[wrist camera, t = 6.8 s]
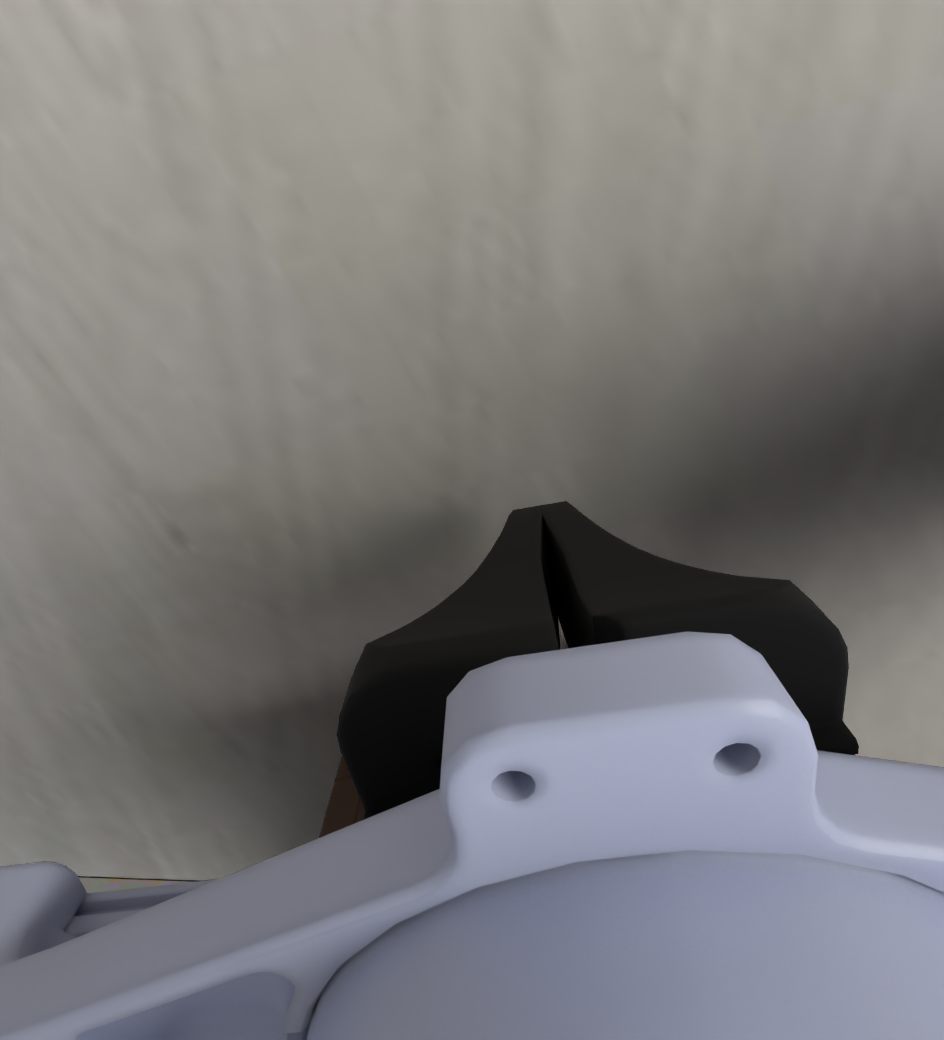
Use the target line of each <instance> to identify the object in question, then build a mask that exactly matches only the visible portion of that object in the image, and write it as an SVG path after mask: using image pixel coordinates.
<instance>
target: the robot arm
mask: <svg viewBox="0 0 944 1040" xmlns="http://www.w3.org/2000/svg"><path fill="white" fill-rule="evenodd" d="M558 618H559V621H560V624H561V627H562V630H563V633H564V636H565V640H566V643H567V646H568V649H561V650H560V638H559V624H558ZM848 668H849V667H848V651H847V646H846V644H845V642H844V640H843V638H842V635H841V633H840V631H839V629H838V628H837V627H836V626H835V625H834V624H833V623H832V622H831V621H830V620H829V619H828V618H827V617H826V615H825V614H824V613H823V612H822V611H821V610H820V609H819V608H818V607H817V606H816V604H815V603H814V602H813V601H812V600H811V599H810V598H809V597H808V596H806V595H805V594H804V593H803V592H802V591H801V590H800V589H799V588H798V587H796V586H795V585H794V584H793V583H792V582H791V581H790V580H780V579H768V578H756V577H744V576H736V575H730V574H724V573H718V572H712V571H707V570H703V569H698V568H694V567H690V566H686V565H683V564H679V563H676V562H672V561H669V560H666V559H663V558H660V557H658V556H655V555H653V554H650V553H648V552H645V551H643V550H641V549H638V548H636V547H634V546H632V545H630V544H628V543H626V542H624V541H622V540H620V539H619V538H617V537H615V536H613V535H612V534H610V533H608V532H607V531H605V530H604V529H602V528H601V527H599V526H598V525H596V524H595V523H594V522H592V521H591V520H589V519H588V518H587V517H586V516H584V515H583V514H582V513H581V512H579V511H578V510H577V509H576V508H575V507H573V506H572V505H571V504H569V503H568V502H567V501H564V502H558V503H553V504H547V505H541V506H535V507H529V508H523V509H517V510H513V511H512V512H511V513H510V515H509V517H508V519H507V522H506V524H505V526H504V528H503V530H502V532H501V534H500V536H499V538H498V539H497V541H496V543H495V544H494V546H493V548H492V549H491V551H490V552H489V554H488V555H487V557H486V558H485V559H484V561H483V562H482V564H481V565H480V566H479V568H478V569H477V570H476V571H475V573H474V574H473V575H472V576H471V577H470V578H469V579H468V580H467V581H466V582H465V583H464V584H463V585H462V586H461V587H460V588H459V589H457V590H456V591H455V592H454V593H453V594H451V595H450V596H449V597H448V598H446V599H445V600H444V601H443V602H441V603H440V604H439V605H438V606H436V607H435V608H433V609H432V610H430V611H429V612H427V613H426V614H424V615H423V616H421V617H419V618H418V619H416V620H414V621H413V622H411V623H409V624H407V625H406V626H404V627H402V628H400V629H398V630H396V631H393V632H391V633H389V634H387V635H385V636H383V637H381V638H379V639H376V640H374V641H372V642H369V643H367V644H366V646H365V648H364V650H363V653H362V655H361V657H360V659H359V661H358V663H357V665H356V667H355V670H354V673H353V675H352V678H351V680H350V683H349V687H348V690H347V693H346V696H345V699H344V703H343V706H342V709H341V712H340V716H339V722H338V730H337V737H338V742H339V746H340V751H341V754H342V756H343V759H344V761H345V764H346V766H347V769H348V771H349V773H350V776H351V778H352V781H353V783H354V786H355V788H356V790H357V793H358V795H359V798H360V800H361V803H362V805H363V808H364V810H365V816H364V820H362V821H360V822H357V823H355V824H352V825H350V826H347V827H345V828H343V829H340V830H338V831H335V832H333V833H330V834H328V835H326V836H323V837H321V838H318V839H316V840H313V841H311V842H308V843H306V844H304V845H301V846H299V847H296V848H294V849H291V850H289V851H286V852H284V853H282V854H279V855H277V856H274V857H272V858H269V859H267V860H265V861H262V862H260V863H257V864H255V865H252V866H250V867H247V868H245V869H243V870H240V871H238V872H235V873H233V874H230V875H228V876H226V877H223V878H221V879H215V880H206V881H197V882H188V883H178V884H169V885H160V886H151V887H142V888H132V889H123V890H114V891H105V892H96V893H86V890H85V888H84V886H83V884H82V882H81V881H80V879H79V878H78V876H77V875H76V874H75V873H74V872H73V871H72V870H71V869H69V868H68V867H67V866H65V865H62V864H59V863H57V862H46V861H43V862H34V863H26V864H17V865H8V866H0V1040H944V767H939V766H931V765H924V764H916V763H908V762H901V761H893V760H886V759H878V758H871V757H863V756H856V755H855V754H858V748H859V746H858V743H857V740H856V738H855V737H854V736H853V734H852V733H851V732H850V730H849V729H848V728H847V726H846V725H845V724H844V722H843V721H842V719H843V711H844V702H845V694H846V685H847V676H848Z"/></svg>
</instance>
